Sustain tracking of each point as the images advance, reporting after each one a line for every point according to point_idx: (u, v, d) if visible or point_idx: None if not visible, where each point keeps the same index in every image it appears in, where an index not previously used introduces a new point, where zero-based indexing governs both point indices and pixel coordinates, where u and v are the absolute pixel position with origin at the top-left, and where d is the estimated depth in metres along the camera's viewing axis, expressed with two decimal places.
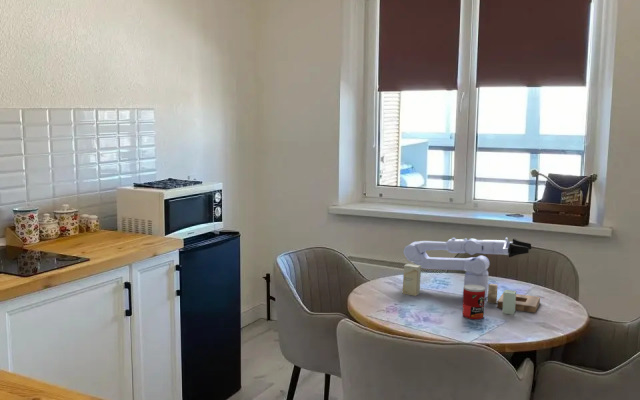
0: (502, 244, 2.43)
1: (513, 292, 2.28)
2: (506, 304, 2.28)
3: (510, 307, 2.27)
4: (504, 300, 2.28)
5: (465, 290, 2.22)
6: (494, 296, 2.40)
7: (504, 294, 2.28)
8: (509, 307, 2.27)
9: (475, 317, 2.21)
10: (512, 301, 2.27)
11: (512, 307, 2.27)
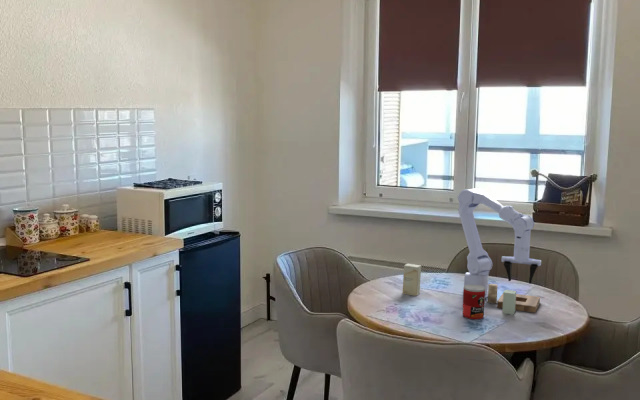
0: (514, 257, 2.35)
1: (513, 292, 2.28)
2: (506, 304, 2.28)
3: (510, 307, 2.27)
4: (504, 300, 2.28)
5: (465, 290, 2.22)
6: (494, 296, 2.40)
7: (504, 294, 2.28)
8: (509, 307, 2.27)
9: (475, 317, 2.21)
10: (512, 301, 2.27)
11: (512, 307, 2.27)
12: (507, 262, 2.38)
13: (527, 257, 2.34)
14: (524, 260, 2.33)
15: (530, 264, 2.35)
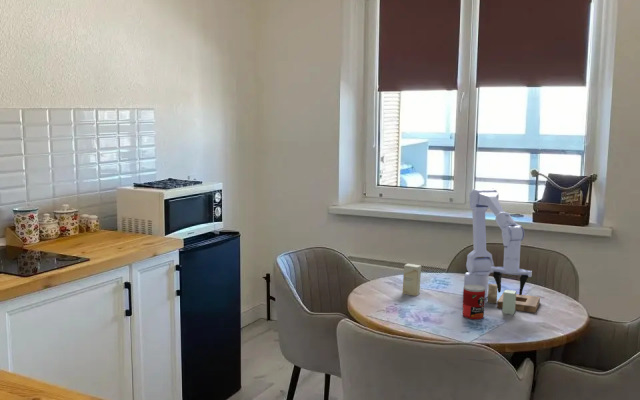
0: (504, 267, 2.27)
1: (513, 292, 2.28)
2: (506, 304, 2.28)
3: (510, 307, 2.27)
4: (504, 300, 2.28)
5: (465, 290, 2.22)
6: (494, 296, 2.40)
7: (504, 294, 2.28)
8: (509, 307, 2.27)
9: (475, 317, 2.21)
10: (512, 301, 2.27)
11: (512, 307, 2.27)
12: (496, 273, 2.29)
13: (517, 268, 2.25)
14: (514, 271, 2.25)
15: (520, 275, 2.26)
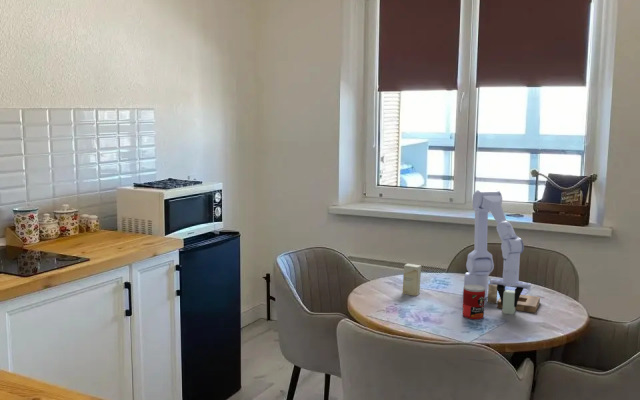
0: (503, 280, 2.27)
1: (513, 292, 2.28)
2: (506, 304, 2.28)
3: (510, 307, 2.27)
4: (504, 300, 2.28)
5: (465, 290, 2.22)
6: (494, 296, 2.40)
7: (504, 294, 2.28)
8: (509, 307, 2.27)
9: (475, 317, 2.21)
10: (512, 301, 2.27)
11: (512, 307, 2.27)
12: None
13: (516, 280, 2.26)
14: (513, 283, 2.25)
15: None
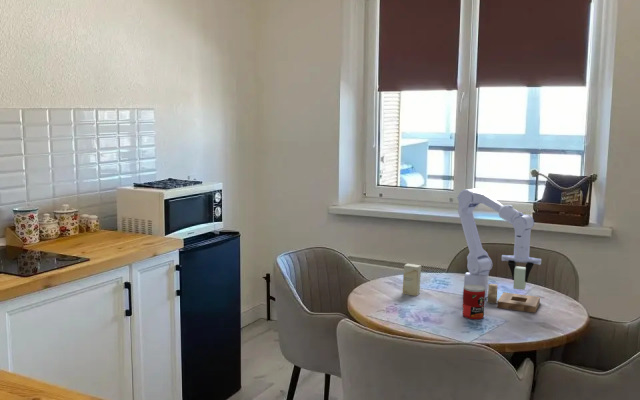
0: (514, 255, 2.35)
1: (524, 268, 2.35)
2: (517, 280, 2.36)
3: (521, 283, 2.35)
4: (515, 276, 2.36)
5: (465, 290, 2.22)
6: (494, 296, 2.40)
7: (515, 270, 2.35)
8: (520, 282, 2.35)
9: (475, 317, 2.21)
10: (523, 277, 2.34)
11: (523, 283, 2.35)
12: None
13: (527, 256, 2.34)
14: (524, 259, 2.33)
15: None
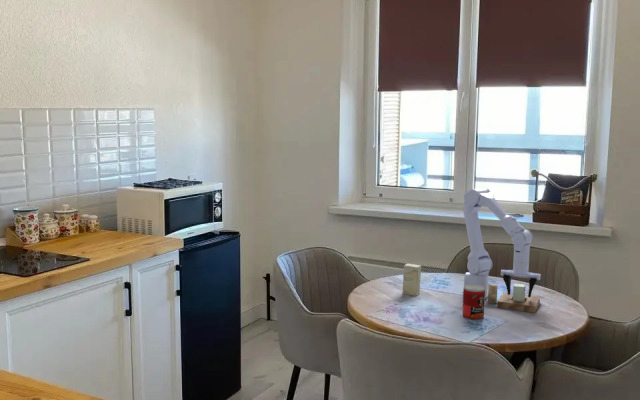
0: (514, 270, 2.36)
1: (523, 286, 2.36)
2: (516, 297, 2.37)
3: None
4: (514, 293, 2.37)
5: (465, 290, 2.22)
6: (494, 296, 2.40)
7: (514, 288, 2.36)
8: (519, 300, 2.36)
9: (475, 317, 2.21)
10: (522, 294, 2.35)
11: (522, 300, 2.36)
12: (506, 276, 2.39)
13: (526, 271, 2.35)
14: (523, 274, 2.34)
15: None
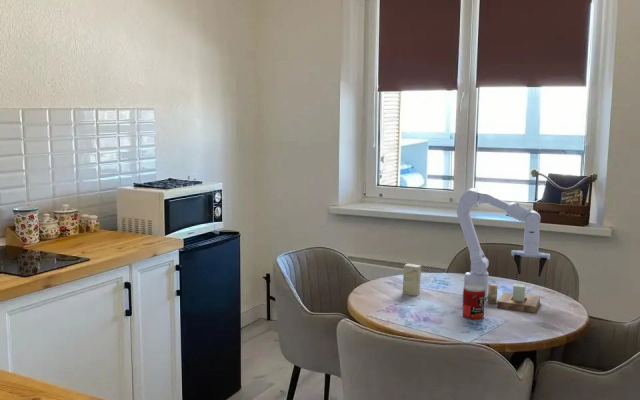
0: (524, 250, 2.42)
1: (523, 286, 2.36)
2: (516, 297, 2.37)
3: None
4: (514, 293, 2.37)
5: (465, 290, 2.22)
6: (494, 296, 2.40)
7: (514, 288, 2.36)
8: (519, 300, 2.36)
9: (475, 317, 2.21)
10: (522, 294, 2.35)
11: (522, 300, 2.36)
12: (517, 256, 2.44)
13: (536, 251, 2.40)
14: (533, 254, 2.40)
15: None
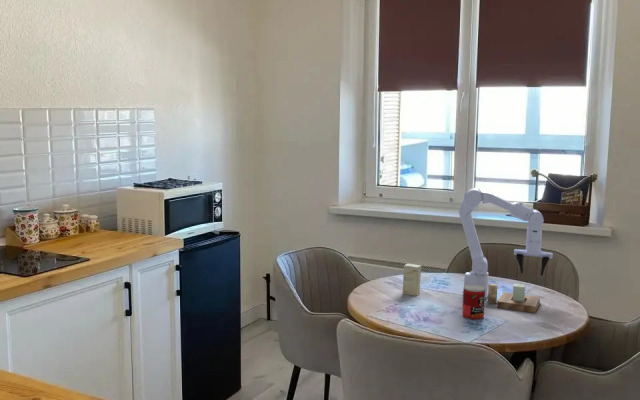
0: (527, 249, 2.44)
1: (523, 286, 2.36)
2: (516, 297, 2.37)
3: None
4: (514, 293, 2.37)
5: (465, 290, 2.22)
6: (494, 296, 2.40)
7: (514, 288, 2.36)
8: (519, 300, 2.36)
9: (475, 317, 2.21)
10: (522, 294, 2.35)
11: (522, 300, 2.36)
12: (519, 255, 2.46)
13: (539, 250, 2.42)
14: (536, 253, 2.42)
15: None
